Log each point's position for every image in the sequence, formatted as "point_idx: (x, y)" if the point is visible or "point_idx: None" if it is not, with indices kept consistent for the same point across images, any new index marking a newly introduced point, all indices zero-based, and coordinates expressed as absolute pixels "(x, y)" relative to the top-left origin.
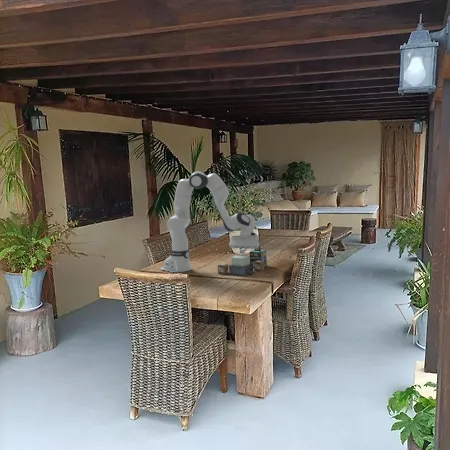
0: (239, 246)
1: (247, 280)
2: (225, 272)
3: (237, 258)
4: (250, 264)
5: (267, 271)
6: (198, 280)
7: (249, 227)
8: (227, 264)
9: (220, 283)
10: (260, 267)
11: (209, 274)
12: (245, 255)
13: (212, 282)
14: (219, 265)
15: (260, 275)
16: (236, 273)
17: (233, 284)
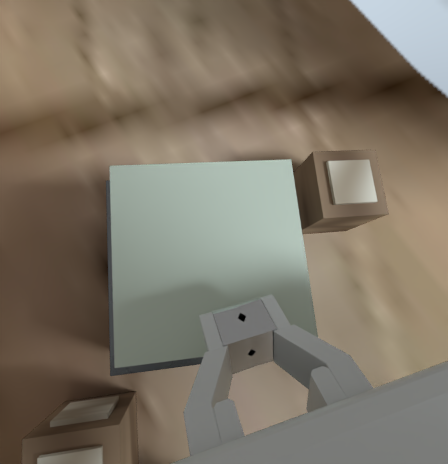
0: (366, 388)
1: (45, 114)
2: None
3: (203, 165)
4: (109, 310)
5: (4, 435)
6: (336, 14)
7: None
8: (321, 207)
9: (180, 3)
10: (54, 415)
11: (374, 144)
12: (182, 340)
13: (237, 6)
14: (358, 151)
15: (9, 277)
16: None
17: (90, 9)
